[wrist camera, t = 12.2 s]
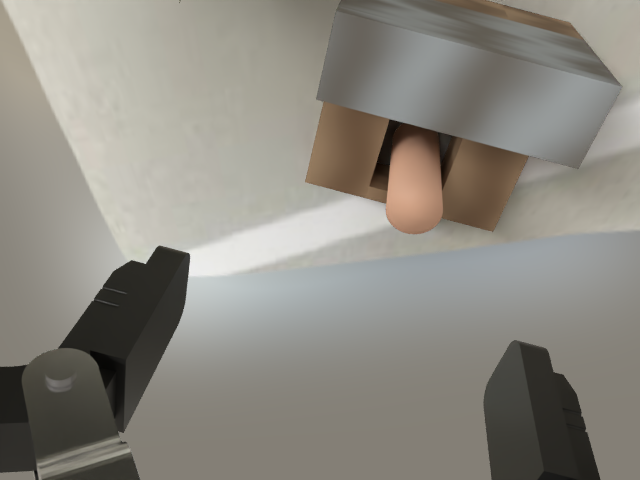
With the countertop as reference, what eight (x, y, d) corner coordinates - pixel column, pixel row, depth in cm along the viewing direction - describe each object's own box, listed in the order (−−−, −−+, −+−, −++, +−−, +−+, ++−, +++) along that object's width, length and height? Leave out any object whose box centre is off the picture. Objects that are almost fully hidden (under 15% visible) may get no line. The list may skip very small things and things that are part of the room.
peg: (400, 114, 43) (394, 179, 34) (445, 126, 43) (451, 193, 34) (387, 155, 45) (379, 225, 36) (430, 166, 45) (432, 240, 36)
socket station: (313, 157, 46) (283, 244, 36) (358, -34, 38) (335, 10, 28) (487, 203, 46) (505, 303, 36) (569, 22, 38) (622, 86, 28)
